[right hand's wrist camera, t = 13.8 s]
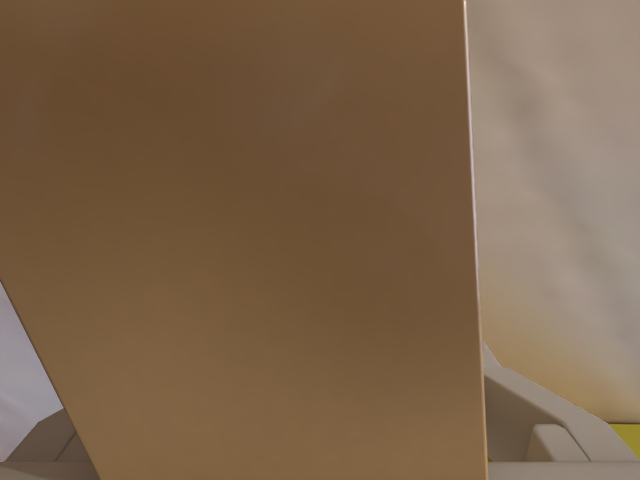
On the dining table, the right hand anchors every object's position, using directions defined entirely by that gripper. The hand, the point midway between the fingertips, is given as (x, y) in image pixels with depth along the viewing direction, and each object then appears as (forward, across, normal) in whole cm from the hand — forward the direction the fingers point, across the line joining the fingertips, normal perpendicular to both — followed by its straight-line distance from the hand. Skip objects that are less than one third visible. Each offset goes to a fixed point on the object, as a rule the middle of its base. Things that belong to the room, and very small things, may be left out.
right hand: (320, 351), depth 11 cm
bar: (+4, +2, -10) cm, 11 cm away
